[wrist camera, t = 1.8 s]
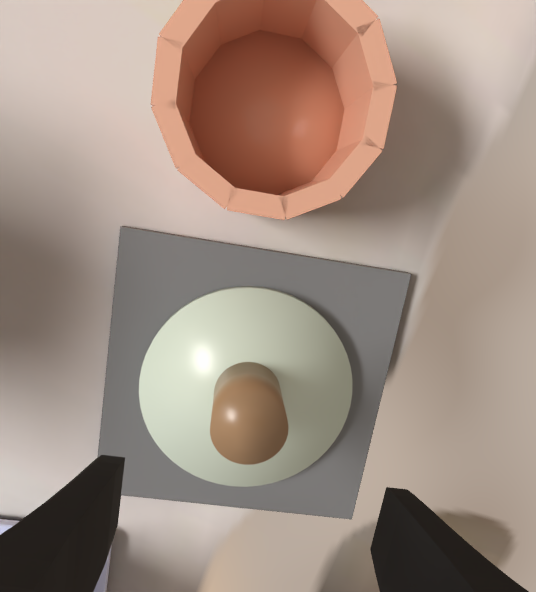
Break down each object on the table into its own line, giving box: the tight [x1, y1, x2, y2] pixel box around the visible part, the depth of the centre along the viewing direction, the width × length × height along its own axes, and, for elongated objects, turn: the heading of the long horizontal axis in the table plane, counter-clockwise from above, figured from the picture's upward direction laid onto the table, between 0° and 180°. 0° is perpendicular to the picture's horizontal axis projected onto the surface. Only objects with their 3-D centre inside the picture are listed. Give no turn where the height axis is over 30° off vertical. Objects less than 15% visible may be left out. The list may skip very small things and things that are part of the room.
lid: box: [139, 286, 352, 487], centre depth 18 cm, size 9×9×4 cm
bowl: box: [151, 0, 397, 220], centre depth 15 cm, size 7×7×4 cm
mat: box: [98, 226, 411, 519], centre depth 20 cm, size 12×12×1 cm
